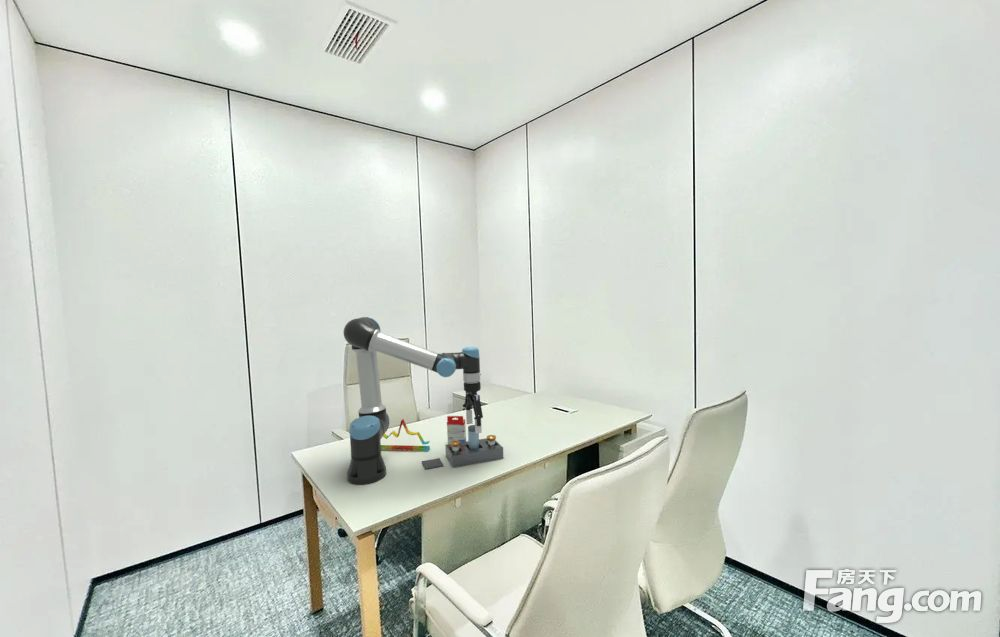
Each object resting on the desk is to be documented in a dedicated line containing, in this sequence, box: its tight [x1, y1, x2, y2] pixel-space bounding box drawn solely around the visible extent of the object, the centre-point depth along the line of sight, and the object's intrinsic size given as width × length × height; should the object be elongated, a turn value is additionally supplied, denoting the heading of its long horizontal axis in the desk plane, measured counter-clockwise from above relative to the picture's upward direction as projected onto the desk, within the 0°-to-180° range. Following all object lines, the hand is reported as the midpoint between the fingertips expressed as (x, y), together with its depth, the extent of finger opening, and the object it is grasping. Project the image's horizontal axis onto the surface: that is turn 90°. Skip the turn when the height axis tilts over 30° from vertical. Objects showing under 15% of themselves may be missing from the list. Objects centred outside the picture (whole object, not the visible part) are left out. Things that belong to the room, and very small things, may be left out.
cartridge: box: [467, 424, 480, 450], centre depth 176 cm, size 5×5×14 cm
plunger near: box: [451, 441, 460, 453], centre depth 174 cm, size 4×4×8 cm
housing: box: [444, 437, 504, 468], centre depth 177 cm, size 23×14×5 cm, turn 111°
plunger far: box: [486, 434, 497, 446], centre depth 180 cm, size 4×4×8 cm
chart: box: [381, 418, 431, 453], centre depth 187 cm, size 30×3×15 cm, turn 84°
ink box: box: [446, 415, 467, 445], centre depth 193 cm, size 8×5×15 cm, turn 84°
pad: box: [421, 457, 444, 470], centre depth 170 cm, size 8×8×1 cm
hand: (473, 428), depth 176 cm, fingers open, 13 cm apart
